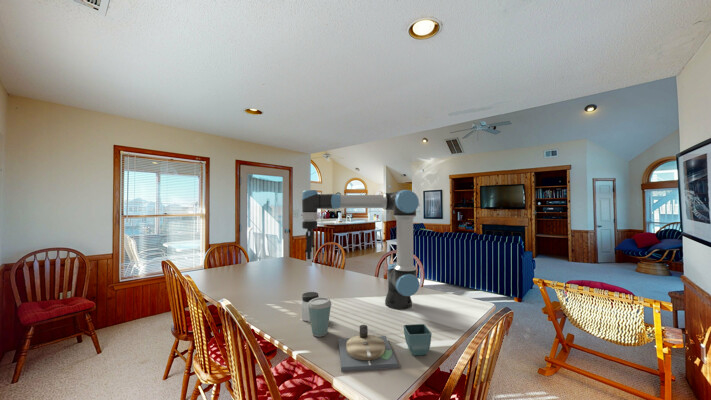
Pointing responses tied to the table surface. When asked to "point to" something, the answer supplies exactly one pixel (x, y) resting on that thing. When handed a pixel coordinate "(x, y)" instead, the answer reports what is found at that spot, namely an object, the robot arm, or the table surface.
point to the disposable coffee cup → (319, 315)
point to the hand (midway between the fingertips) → (310, 262)
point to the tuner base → (356, 364)
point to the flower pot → (417, 338)
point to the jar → (305, 299)
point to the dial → (365, 345)
